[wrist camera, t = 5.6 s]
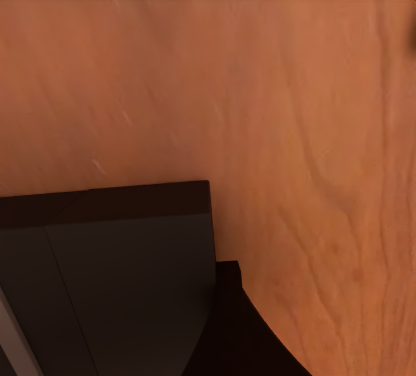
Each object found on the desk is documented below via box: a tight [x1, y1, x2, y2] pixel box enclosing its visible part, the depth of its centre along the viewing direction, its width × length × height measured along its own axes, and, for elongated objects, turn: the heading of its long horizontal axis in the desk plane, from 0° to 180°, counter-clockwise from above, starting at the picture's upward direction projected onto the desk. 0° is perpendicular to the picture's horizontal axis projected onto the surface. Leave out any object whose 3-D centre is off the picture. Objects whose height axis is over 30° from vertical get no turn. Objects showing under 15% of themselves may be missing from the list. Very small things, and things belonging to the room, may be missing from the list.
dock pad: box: [0, 191, 99, 376], centre depth 10 cm, size 8×5×3 cm, turn 5°
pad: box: [44, 180, 216, 376], centre depth 10 cm, size 8×5×3 cm, turn 5°
